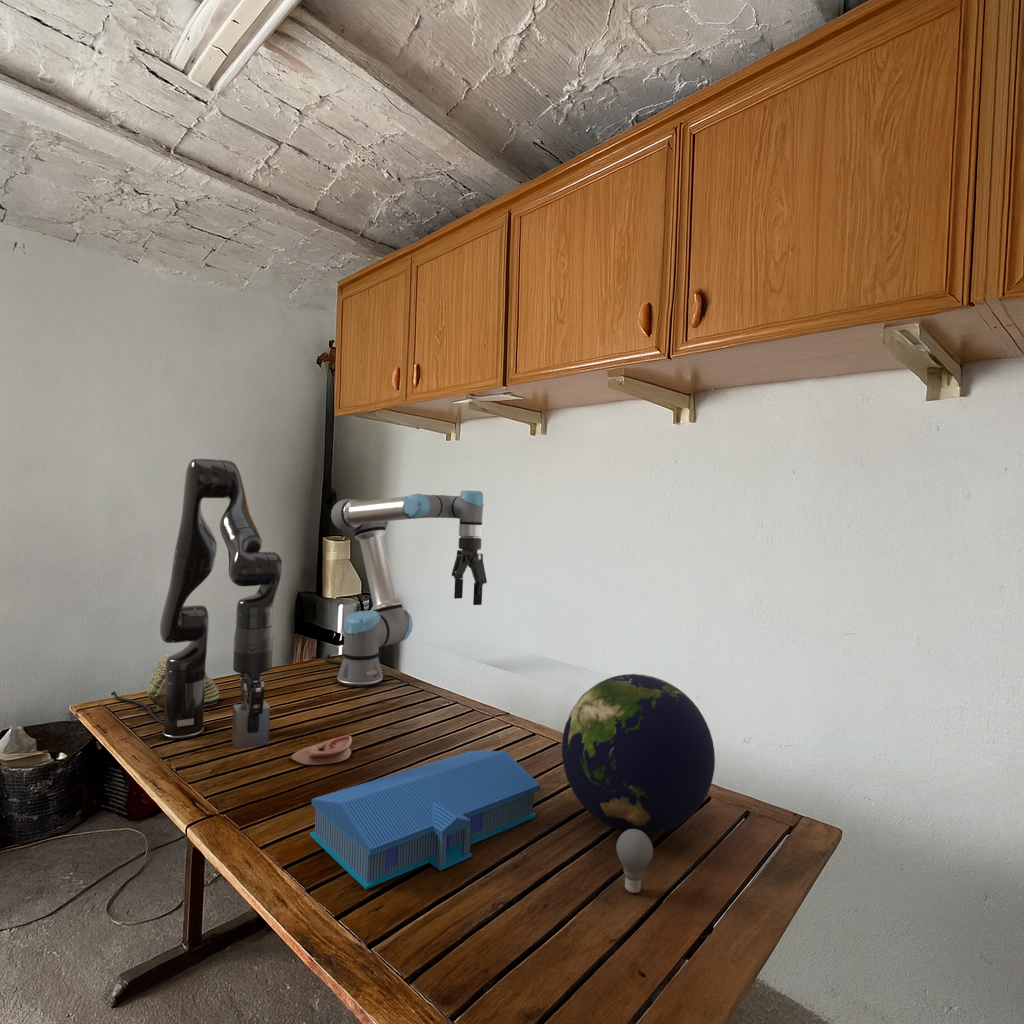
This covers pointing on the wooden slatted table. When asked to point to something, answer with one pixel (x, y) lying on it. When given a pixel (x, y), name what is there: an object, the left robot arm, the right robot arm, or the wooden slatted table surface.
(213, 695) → the fossil
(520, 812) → the model building
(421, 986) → the wooden slatted table surface
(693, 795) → the globe
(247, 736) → the block
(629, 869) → the light bulb
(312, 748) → the anatomical model
